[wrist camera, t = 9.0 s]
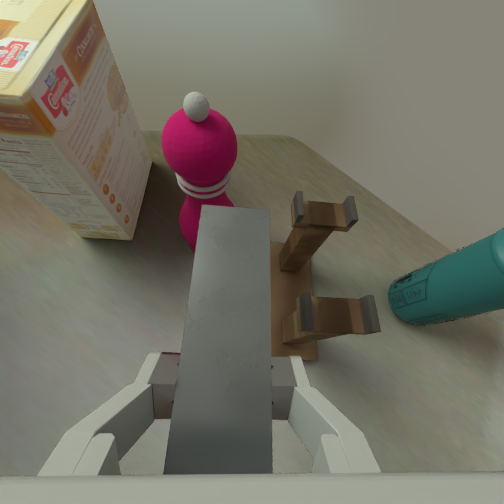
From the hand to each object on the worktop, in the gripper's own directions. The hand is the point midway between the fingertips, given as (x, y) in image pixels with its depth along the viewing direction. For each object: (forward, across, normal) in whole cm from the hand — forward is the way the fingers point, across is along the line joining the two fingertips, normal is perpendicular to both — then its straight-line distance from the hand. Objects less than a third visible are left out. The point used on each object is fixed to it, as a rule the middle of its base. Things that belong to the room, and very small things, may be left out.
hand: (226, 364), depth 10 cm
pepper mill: (+24, +4, +2) cm, 25 cm away
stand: (+19, -8, +7) cm, 21 cm away
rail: (0, 0, +1) cm, 1 cm away
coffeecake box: (+28, +18, -3) cm, 33 cm away
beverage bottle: (+19, -24, +8) cm, 31 cm away
